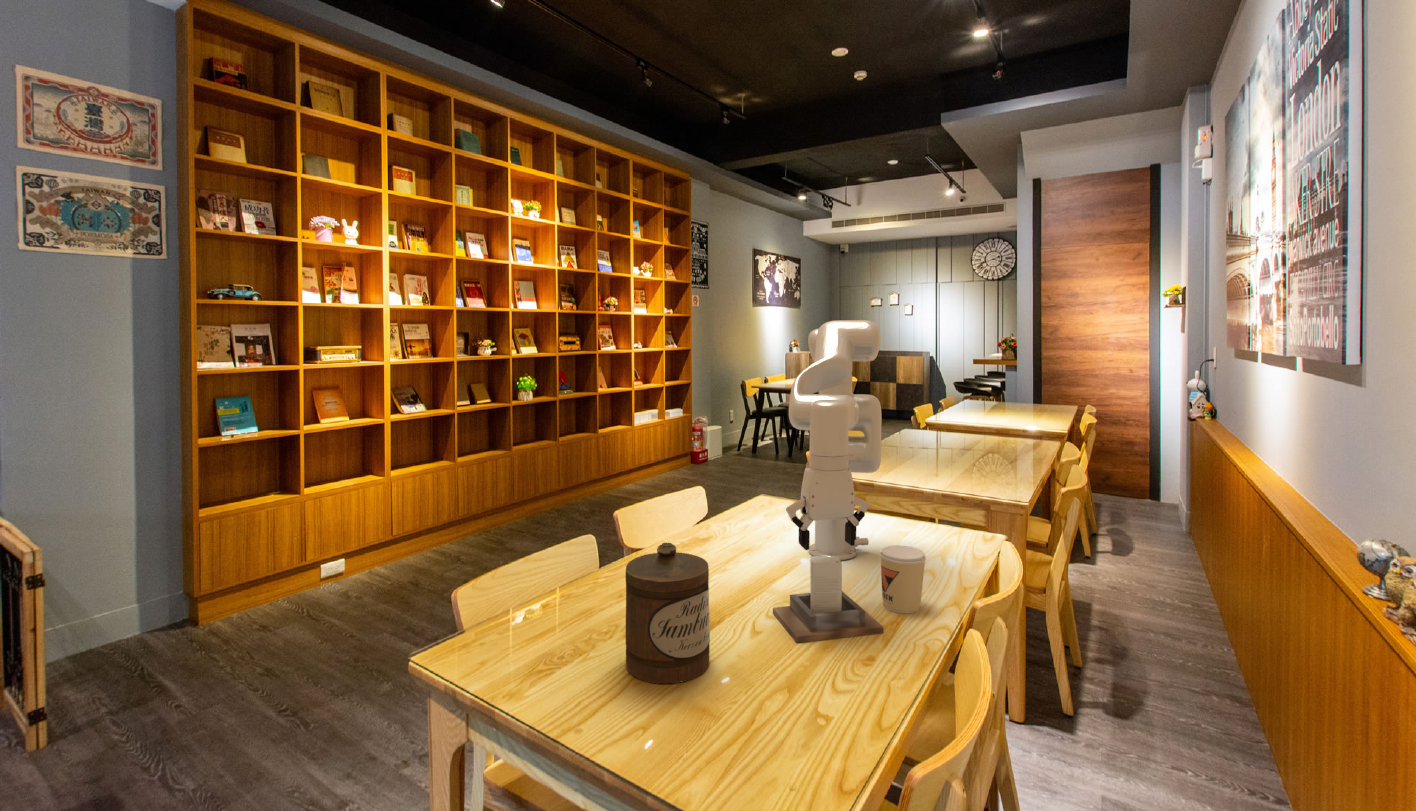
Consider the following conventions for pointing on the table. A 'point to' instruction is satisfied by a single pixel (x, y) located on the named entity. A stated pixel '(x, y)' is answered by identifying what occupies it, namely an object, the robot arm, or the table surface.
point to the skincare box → (825, 584)
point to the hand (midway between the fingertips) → (827, 545)
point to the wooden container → (667, 616)
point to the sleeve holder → (825, 620)
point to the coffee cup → (902, 578)
